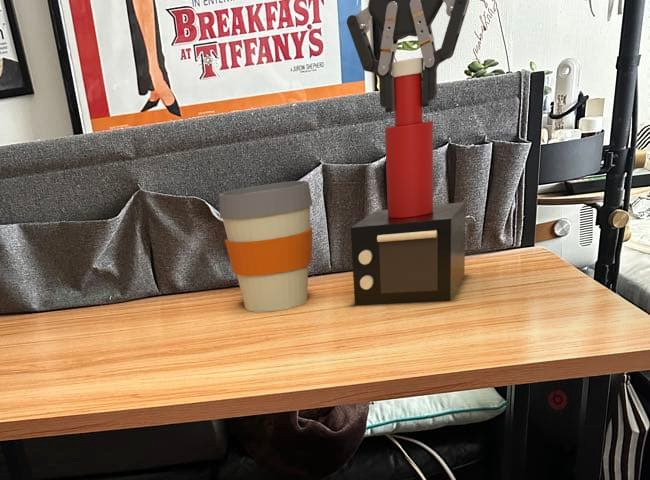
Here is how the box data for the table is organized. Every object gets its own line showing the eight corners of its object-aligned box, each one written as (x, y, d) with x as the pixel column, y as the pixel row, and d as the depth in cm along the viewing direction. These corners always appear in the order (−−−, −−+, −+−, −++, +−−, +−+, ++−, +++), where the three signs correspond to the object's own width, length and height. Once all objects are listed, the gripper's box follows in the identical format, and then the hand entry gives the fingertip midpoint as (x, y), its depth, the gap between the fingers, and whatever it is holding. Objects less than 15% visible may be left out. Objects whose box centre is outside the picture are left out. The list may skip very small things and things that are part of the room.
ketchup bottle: (436, 208, 93) (435, 56, 85) (429, 215, 88) (428, 55, 80) (392, 213, 95) (388, 64, 87) (383, 219, 90) (378, 64, 82)
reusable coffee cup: (233, 300, 109) (218, 191, 101) (316, 288, 108) (307, 178, 101) (231, 319, 98) (215, 199, 91) (324, 307, 97) (314, 184, 90)
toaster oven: (464, 280, 100) (465, 201, 95) (448, 308, 88) (449, 220, 83) (378, 285, 104) (375, 210, 99) (352, 313, 92) (347, 229, 87)
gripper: (332, -65, 77) (342, 119, 86) (470, -100, 72) (466, 101, 80) (349, -56, 83) (357, 116, 91) (478, -87, 78) (474, 99, 86)
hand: (408, 108), depth 86 cm, fingers open, 3 cm apart
